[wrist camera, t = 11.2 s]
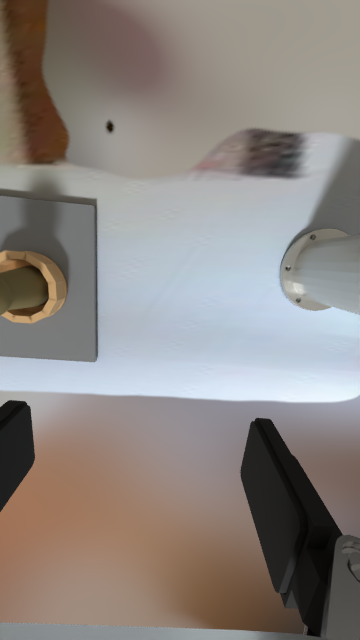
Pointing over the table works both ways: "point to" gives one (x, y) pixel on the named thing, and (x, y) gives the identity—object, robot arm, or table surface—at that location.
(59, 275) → the tan shallow bowl
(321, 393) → the table surface
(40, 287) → the cork
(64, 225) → the slate board
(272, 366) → the table surface
